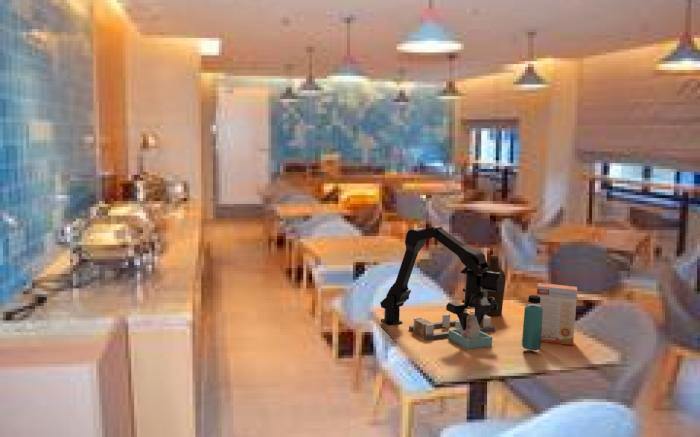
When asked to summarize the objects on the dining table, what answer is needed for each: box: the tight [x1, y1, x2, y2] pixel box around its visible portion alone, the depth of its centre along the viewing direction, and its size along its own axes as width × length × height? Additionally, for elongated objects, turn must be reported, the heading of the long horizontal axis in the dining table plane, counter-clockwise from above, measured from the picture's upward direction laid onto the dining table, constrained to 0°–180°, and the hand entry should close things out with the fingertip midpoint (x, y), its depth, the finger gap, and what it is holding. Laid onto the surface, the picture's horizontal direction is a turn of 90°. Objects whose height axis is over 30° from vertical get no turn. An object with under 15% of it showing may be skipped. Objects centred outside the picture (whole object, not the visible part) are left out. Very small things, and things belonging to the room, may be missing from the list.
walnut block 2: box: [472, 313, 490, 328], centre depth 248 cm, size 6×4×5 cm, turn 25°
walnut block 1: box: [413, 318, 434, 338], centre depth 236 cm, size 6×4×5 cm, turn 25°
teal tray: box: [447, 328, 493, 351], centre depth 229 cm, size 12×10×4 cm
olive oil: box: [481, 254, 507, 317], centre depth 266 cm, size 11×11×25 cm
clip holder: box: [408, 310, 496, 341], centre depth 242 cm, size 13×31×5 cm, turn 116°
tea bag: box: [459, 312, 480, 340], centre depth 229 cm, size 4×7×10 cm, turn 26°
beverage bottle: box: [521, 294, 543, 351], centre depth 221 cm, size 6×7×20 cm
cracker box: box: [535, 282, 578, 346], centre depth 233 cm, size 14×6×21 cm, turn 71°
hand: (470, 329), depth 228 cm, fingers open, 5 cm apart
